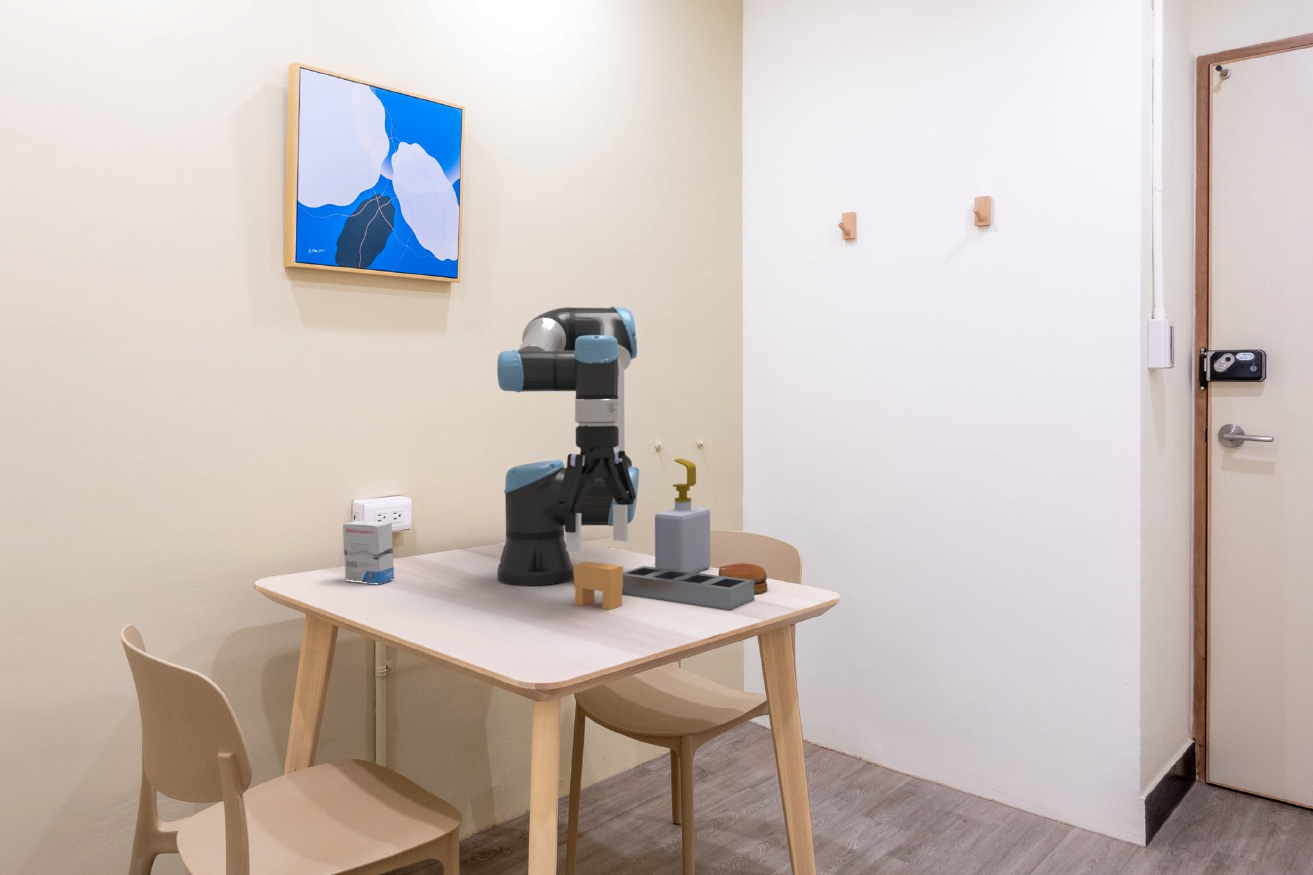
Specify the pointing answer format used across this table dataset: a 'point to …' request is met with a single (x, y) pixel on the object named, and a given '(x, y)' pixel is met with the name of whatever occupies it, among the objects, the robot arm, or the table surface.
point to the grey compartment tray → (688, 587)
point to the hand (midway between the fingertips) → (598, 545)
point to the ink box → (368, 551)
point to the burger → (746, 574)
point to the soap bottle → (683, 531)
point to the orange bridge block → (598, 583)
